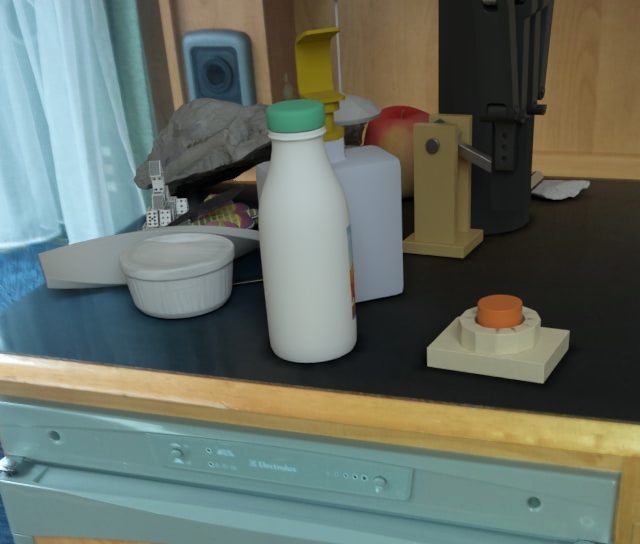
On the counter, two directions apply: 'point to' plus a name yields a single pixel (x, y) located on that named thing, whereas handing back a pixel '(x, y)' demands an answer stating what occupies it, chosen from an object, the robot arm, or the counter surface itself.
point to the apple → (397, 139)
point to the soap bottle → (355, 178)
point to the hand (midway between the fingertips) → (510, 209)
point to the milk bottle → (305, 240)
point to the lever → (486, 158)
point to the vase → (469, 108)
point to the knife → (248, 280)
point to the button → (499, 311)
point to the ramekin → (179, 274)
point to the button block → (499, 348)
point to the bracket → (442, 189)
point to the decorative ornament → (229, 216)
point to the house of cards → (163, 201)
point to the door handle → (103, 255)
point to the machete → (208, 206)
